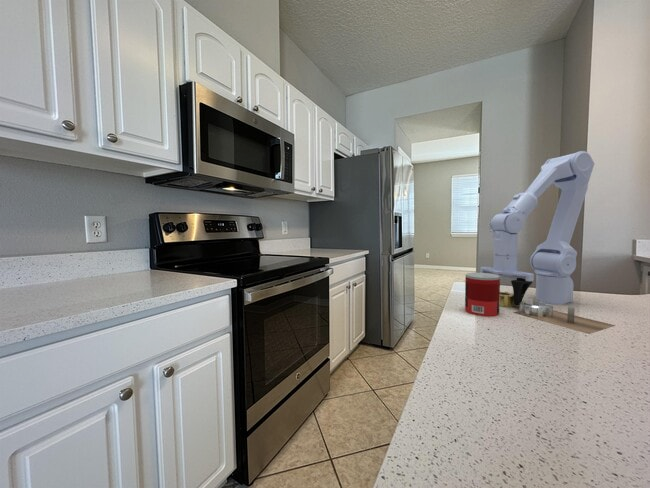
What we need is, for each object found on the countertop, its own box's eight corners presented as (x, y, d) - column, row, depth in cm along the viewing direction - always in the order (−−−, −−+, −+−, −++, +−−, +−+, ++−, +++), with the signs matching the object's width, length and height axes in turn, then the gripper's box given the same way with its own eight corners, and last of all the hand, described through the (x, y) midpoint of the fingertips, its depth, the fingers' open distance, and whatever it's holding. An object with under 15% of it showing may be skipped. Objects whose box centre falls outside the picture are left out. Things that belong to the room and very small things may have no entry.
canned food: (505, 320, 71) (506, 277, 70) (473, 320, 71) (474, 277, 70) (488, 310, 79) (489, 272, 78) (459, 311, 79) (460, 272, 78)
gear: (529, 307, 77) (530, 300, 77) (558, 315, 71) (559, 306, 71) (513, 311, 74) (513, 303, 74) (542, 319, 68) (542, 310, 68)
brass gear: (501, 303, 85) (501, 290, 85) (520, 308, 80) (520, 294, 80) (488, 306, 83) (488, 292, 83) (507, 311, 78) (507, 297, 77)
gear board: (538, 310, 78) (538, 294, 78) (615, 329, 63) (616, 310, 63) (512, 316, 74) (512, 299, 73) (589, 338, 59) (589, 317, 59)
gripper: (473, 253, 85) (472, 297, 86) (522, 258, 72) (521, 310, 73) (489, 252, 88) (488, 294, 89) (539, 256, 75) (537, 306, 76)
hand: (504, 301), depth 81 cm, fingers open, 7 cm apart
